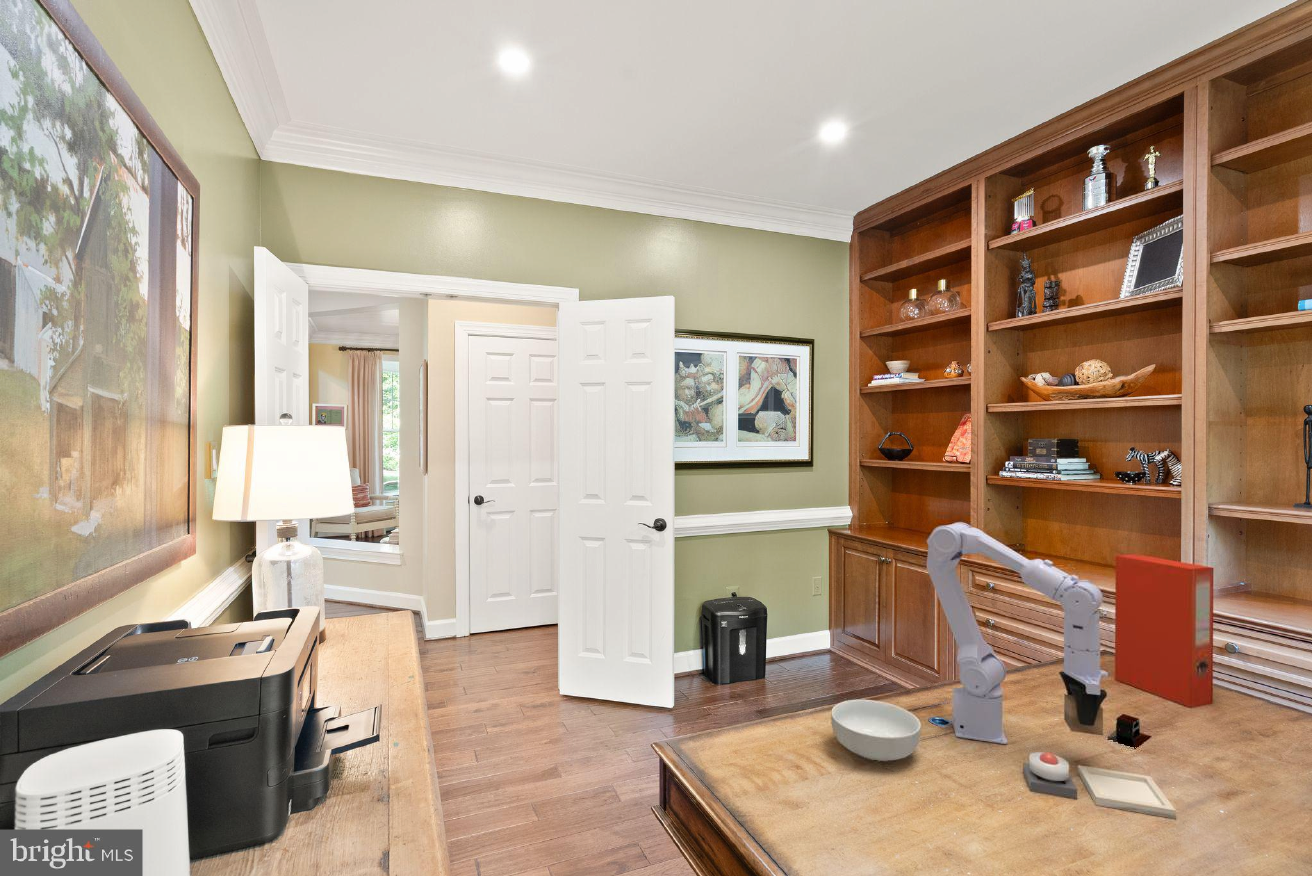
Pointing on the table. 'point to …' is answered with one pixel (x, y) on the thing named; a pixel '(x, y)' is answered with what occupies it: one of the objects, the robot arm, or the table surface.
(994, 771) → the table surface
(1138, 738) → the black tapered mount
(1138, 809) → the die pad
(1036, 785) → the grey button base
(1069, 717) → the die
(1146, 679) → the file binder
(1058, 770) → the dome
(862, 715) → the cereal bowl
